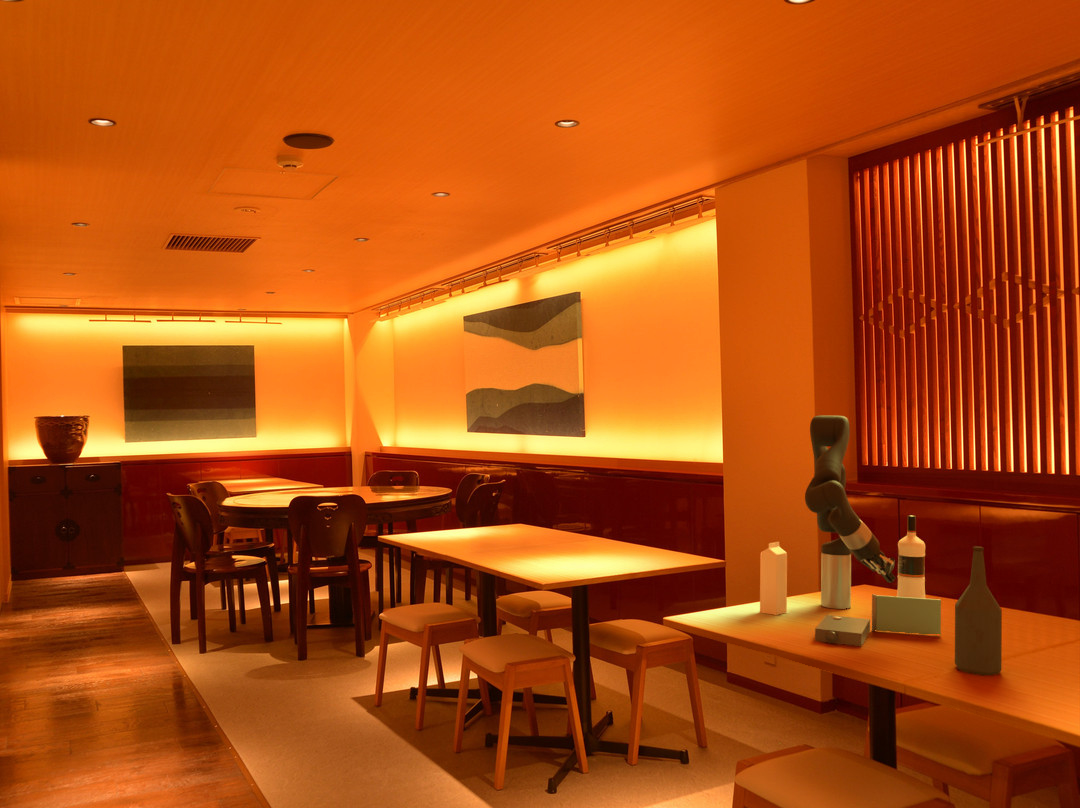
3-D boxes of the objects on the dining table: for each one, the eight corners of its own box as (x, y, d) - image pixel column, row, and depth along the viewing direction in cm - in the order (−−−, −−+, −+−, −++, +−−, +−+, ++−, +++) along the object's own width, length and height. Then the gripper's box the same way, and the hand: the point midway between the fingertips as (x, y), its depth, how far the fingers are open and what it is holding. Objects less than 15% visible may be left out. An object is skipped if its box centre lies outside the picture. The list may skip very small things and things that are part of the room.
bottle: (1004, 669, 219) (1004, 546, 219) (998, 678, 211) (999, 550, 211) (958, 662, 225) (958, 542, 225) (951, 671, 216) (951, 546, 217)
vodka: (923, 611, 285) (923, 517, 286) (892, 607, 291) (893, 515, 291) (929, 607, 293) (929, 515, 294) (899, 603, 298) (900, 513, 299)
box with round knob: (826, 626, 262) (826, 613, 262) (870, 631, 257) (870, 617, 257) (814, 642, 243) (814, 628, 243) (860, 648, 238) (860, 633, 238)
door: (871, 631, 257) (872, 594, 257) (871, 630, 258) (871, 594, 258) (940, 636, 251) (941, 599, 252) (940, 635, 253) (940, 598, 253)
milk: (786, 613, 281) (788, 542, 281) (776, 615, 277) (777, 544, 277) (769, 609, 285) (771, 540, 286) (759, 612, 281) (760, 542, 282)
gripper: (884, 531, 239) (917, 574, 244) (848, 525, 251) (881, 566, 256) (869, 552, 237) (903, 595, 242) (833, 545, 249) (866, 586, 254)
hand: (891, 580), depth 249 cm, fingers closed
